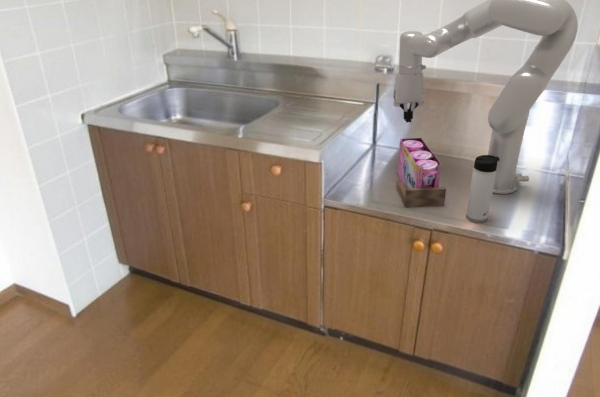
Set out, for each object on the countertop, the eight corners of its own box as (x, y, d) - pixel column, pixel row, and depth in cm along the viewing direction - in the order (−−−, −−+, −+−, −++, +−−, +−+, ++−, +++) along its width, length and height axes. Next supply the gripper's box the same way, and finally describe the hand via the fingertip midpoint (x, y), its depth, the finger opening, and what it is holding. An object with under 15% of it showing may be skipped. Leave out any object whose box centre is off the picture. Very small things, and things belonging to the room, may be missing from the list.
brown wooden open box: (432, 185, 169) (433, 169, 166) (443, 205, 157) (446, 188, 154) (396, 186, 169) (397, 171, 166) (405, 207, 157) (406, 190, 154)
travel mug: (489, 223, 147) (501, 162, 137) (466, 222, 148) (476, 161, 138) (487, 213, 152) (498, 153, 143) (464, 211, 153) (474, 152, 144)
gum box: (438, 205, 158) (443, 166, 151) (414, 206, 157) (418, 167, 151) (418, 172, 179) (421, 137, 172) (396, 173, 178) (399, 138, 172)
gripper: (428, 65, 172) (425, 116, 180) (386, 68, 172) (385, 119, 180) (435, 70, 165) (431, 123, 174) (390, 73, 165) (389, 126, 174)
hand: (407, 121), depth 177 cm, fingers closed
